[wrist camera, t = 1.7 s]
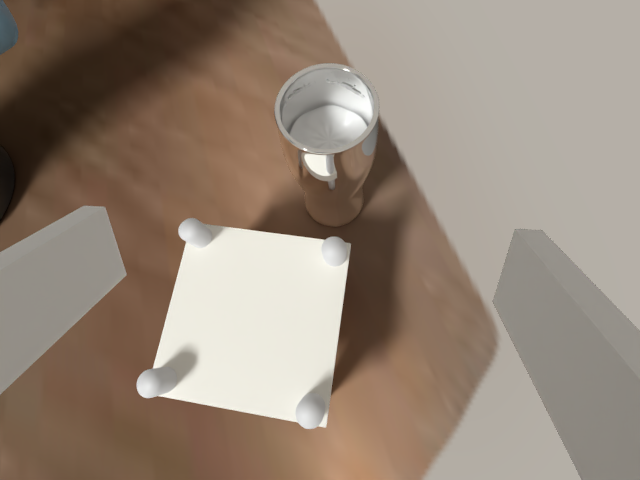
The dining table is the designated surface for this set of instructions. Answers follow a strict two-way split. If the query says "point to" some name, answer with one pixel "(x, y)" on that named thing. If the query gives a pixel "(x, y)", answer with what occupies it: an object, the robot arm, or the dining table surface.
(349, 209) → the silver metal goblet
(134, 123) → the dining table surface
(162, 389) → the shelf stand
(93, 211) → the robot arm
